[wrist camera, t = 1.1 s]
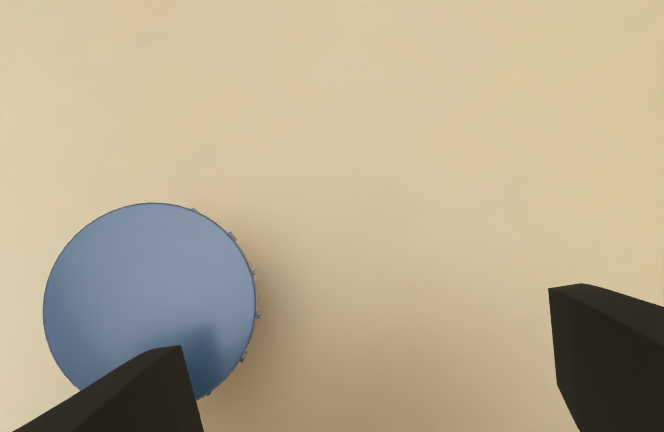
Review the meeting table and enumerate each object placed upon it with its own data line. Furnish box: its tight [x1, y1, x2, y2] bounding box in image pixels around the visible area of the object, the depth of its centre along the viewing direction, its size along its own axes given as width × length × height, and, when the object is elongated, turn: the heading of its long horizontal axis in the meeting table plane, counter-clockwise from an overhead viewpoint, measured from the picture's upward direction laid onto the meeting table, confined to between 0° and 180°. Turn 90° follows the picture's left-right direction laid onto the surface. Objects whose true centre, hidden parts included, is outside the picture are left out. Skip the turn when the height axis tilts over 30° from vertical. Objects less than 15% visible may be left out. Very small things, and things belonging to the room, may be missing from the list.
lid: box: [43, 203, 261, 401], centre depth 15 cm, size 5×5×2 cm
